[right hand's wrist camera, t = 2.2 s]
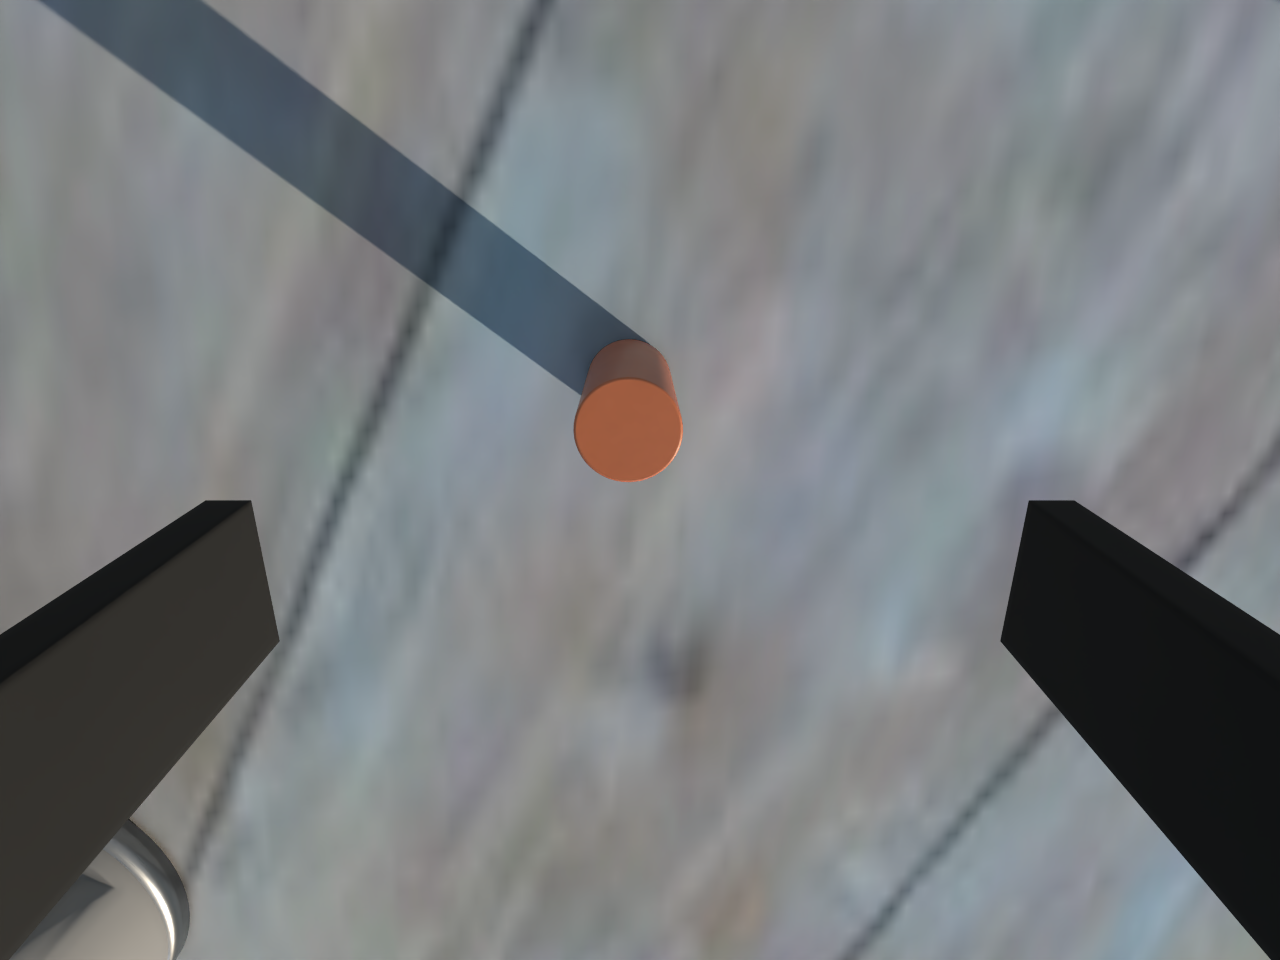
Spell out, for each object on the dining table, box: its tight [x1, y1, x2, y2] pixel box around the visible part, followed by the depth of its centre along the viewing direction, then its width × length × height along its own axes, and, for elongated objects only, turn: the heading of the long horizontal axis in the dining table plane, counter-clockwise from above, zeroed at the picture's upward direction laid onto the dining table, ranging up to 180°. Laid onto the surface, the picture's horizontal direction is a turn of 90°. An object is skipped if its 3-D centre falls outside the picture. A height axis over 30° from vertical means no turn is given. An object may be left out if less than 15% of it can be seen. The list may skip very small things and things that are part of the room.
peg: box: [574, 339, 683, 482], centre depth 24 cm, size 3×3×7 cm
